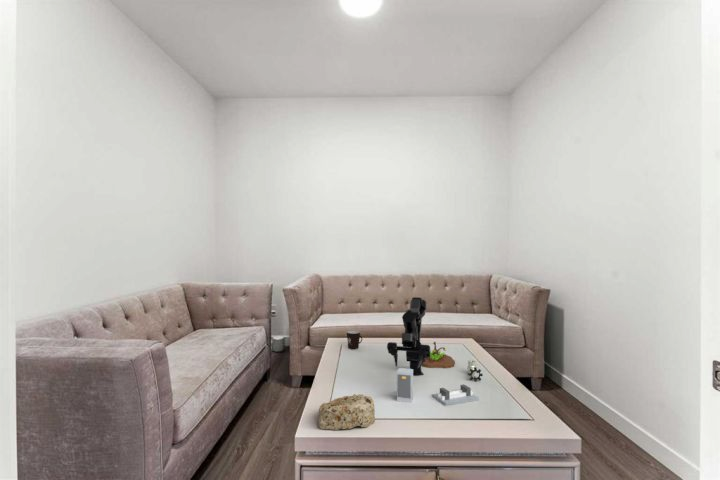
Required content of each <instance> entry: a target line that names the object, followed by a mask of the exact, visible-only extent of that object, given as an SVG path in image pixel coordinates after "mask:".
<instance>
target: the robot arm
mask: <svg viewBox="0 0 720 480" xmlns="http://www.w3.org/2000/svg"><path fill="white" fill-rule="evenodd" d="M427 309H428V305H427V301H426V300H424V299H423V298H422V297H417V296H415V297H412V298H411V300H410V303H409V309H406V311H405V312H404V313H403V314H402V317H401V318H402V323H403V326H404V332H402V333H401V345H398V344H397V343H398V342H395V341H394V342H393V341H389V342H387V345H386V348H387V352H388V354H389V355H391V356H393V359H394V364H395V365H394V366H395V367H396V368H397V367H398V361H399V360H398V356H399V355H398V352H399V351H401V352H405V358H406V362H409V369H413V376H423V375H425V374H424V373H423V372H422V365H421V363H423V362H425V358H427V357H430V354H431V353H432V350H431V346H430V345H429V344H422V343H421V337H422V336H421V335H422V334H421V333H422V321H423V317H424V316H425V315H426V311H427Z"/></svg>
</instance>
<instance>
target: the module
mask: <svg viewBox="0 0 720 480" xmlns="http://www.w3.org/2000/svg"><path fill="white" fill-rule="evenodd" d="M413 400H414V375H413V369H410V368H404V367H399V368H397V370H396V401H397V402H401V403H409V404H410V403H411V404H412V402H413Z"/></svg>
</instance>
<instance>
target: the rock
mask: <svg viewBox="0 0 720 480" xmlns="http://www.w3.org/2000/svg"><path fill="white" fill-rule="evenodd" d="M375 412H376V411H375V401H374V398H373V397H372V396H370V395H369V396H368V395H365V394H357V395H356V394H355V393H354V394H353V395H344V396H342V397H337V398H334V399H333V400H332V399H331V400H330V401H328V402H323V403H322V404H321V405H320V406H319V408H318V426H319V427H318V428H320V430H322V431H323V430H334V431H337V430H338V431H339V430H348V429H353V428H355V427H361V428H368V427H369V426H371V425H373V424H375V421H376V416H375Z"/></svg>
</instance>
